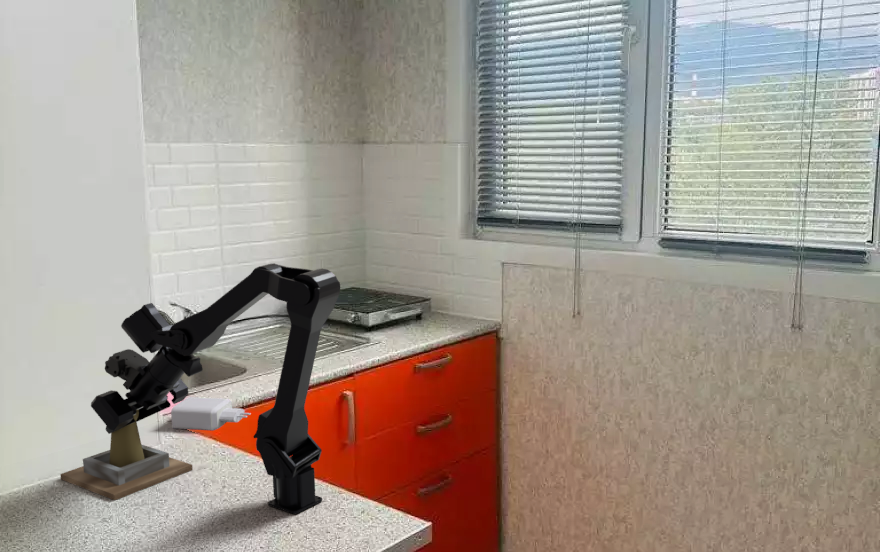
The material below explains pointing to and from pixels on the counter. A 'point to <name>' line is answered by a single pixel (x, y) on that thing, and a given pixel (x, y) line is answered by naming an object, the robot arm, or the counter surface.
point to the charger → (204, 413)
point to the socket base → (125, 473)
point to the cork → (126, 445)
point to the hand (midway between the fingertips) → (118, 426)
